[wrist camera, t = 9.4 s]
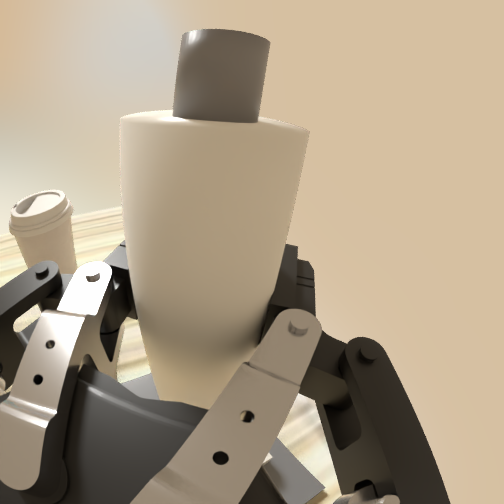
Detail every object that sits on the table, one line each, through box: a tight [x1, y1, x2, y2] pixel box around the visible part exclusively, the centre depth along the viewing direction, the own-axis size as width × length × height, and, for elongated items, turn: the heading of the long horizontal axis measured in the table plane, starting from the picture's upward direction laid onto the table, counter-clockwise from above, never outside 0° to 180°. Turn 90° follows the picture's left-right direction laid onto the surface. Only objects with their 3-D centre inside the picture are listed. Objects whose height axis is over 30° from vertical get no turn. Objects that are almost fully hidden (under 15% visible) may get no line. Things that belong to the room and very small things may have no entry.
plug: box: [120, 29, 309, 410], centre depth 9 cm, size 4×4×16 cm
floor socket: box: [121, 373, 325, 504], centre depth 19 cm, size 20×13×4 cm, turn 36°
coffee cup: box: [9, 190, 78, 274], centre depth 29 cm, size 10×10×15 cm
